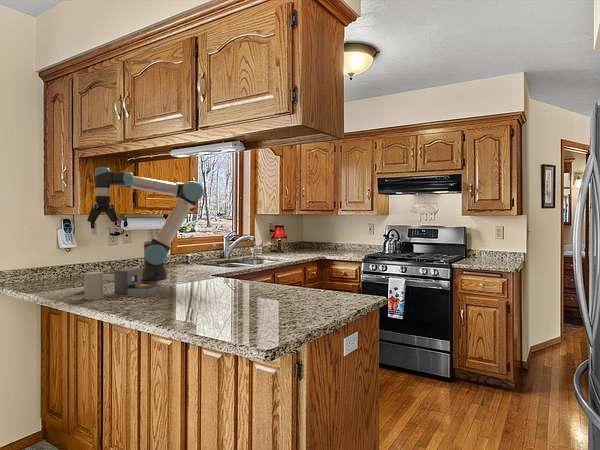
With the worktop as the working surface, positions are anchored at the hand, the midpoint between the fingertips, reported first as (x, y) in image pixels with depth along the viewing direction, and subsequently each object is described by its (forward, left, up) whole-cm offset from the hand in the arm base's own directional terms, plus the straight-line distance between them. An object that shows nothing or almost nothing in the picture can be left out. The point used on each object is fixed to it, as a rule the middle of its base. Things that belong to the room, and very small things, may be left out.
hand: (103, 233), depth 237 cm
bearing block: (+15, +29, -29) cm, 43 cm away
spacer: (+15, +35, -26) cm, 46 cm away
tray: (+15, +38, -29) cm, 50 cm away
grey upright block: (+29, +21, -29) cm, 46 cm away
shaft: (+15, +18, -28) cm, 36 cm away
